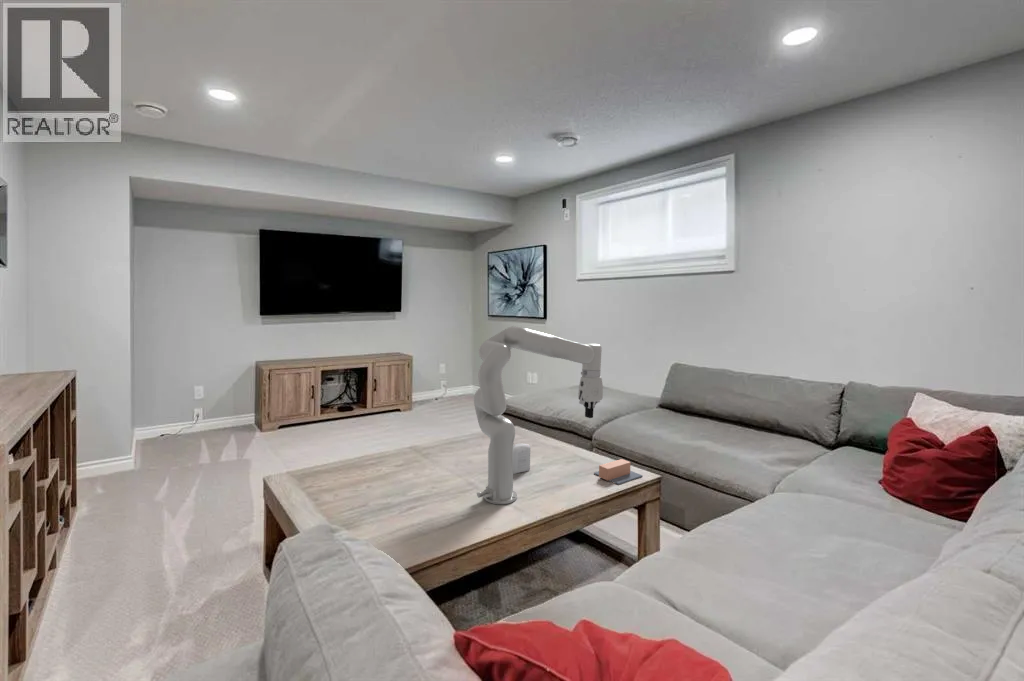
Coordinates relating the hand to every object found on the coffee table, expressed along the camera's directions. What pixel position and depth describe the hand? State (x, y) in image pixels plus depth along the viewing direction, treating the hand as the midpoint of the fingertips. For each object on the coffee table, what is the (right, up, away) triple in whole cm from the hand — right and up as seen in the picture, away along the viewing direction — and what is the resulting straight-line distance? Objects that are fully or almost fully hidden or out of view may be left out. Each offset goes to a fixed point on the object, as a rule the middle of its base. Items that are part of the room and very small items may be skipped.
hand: (588, 417), depth 199 cm
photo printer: (-29, -26, +12) cm, 41 cm away
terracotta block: (+6, -24, +2) cm, 25 cm away
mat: (+14, -26, +8) cm, 31 cm away
